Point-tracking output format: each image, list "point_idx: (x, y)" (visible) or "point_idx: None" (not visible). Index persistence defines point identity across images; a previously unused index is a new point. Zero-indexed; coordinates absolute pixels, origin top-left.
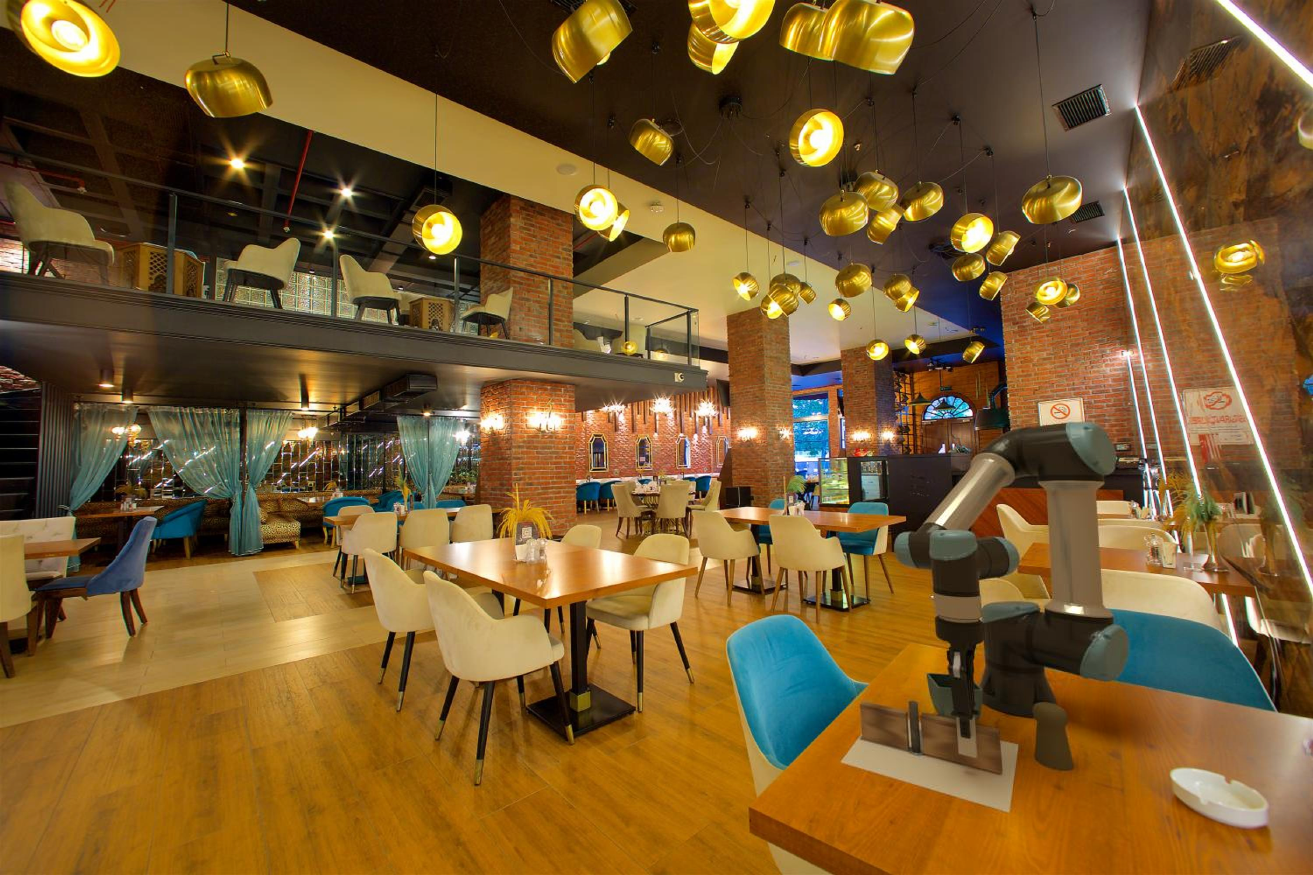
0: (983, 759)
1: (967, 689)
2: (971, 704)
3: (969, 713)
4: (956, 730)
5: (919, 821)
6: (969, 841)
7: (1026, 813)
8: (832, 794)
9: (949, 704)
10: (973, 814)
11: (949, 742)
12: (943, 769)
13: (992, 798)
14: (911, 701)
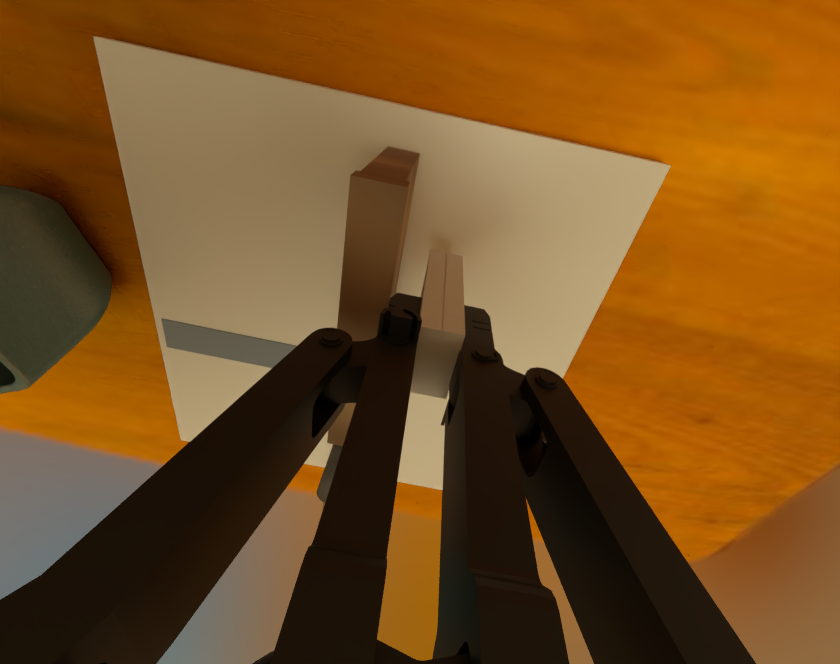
0: (406, 219)
1: (651, 558)
2: (465, 391)
3: (576, 401)
4: None
5: (697, 374)
6: (782, 282)
7: (614, 98)
8: None
9: (60, 311)
10: (647, 259)
11: None
12: None
13: (590, 205)
14: (326, 498)
